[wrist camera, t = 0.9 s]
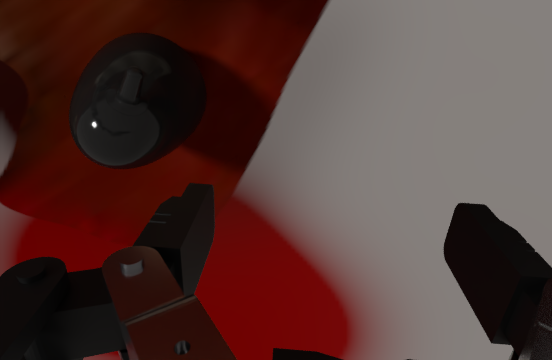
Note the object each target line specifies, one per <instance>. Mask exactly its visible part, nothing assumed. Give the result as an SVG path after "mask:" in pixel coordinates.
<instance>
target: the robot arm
mask: <svg viewBox="0 0 552 360" xmlns="http://www.w3.org/2000/svg"><path fill="white" fill-rule="evenodd" d="M214 228H215V219H214V189H213V185H209V184H195V183H190V184H189V185H188V186H187V188H186V190H185V191H184V193H183V195H182V196H181V197H174V196H173V197H171V198H169V199H168V200H166V201H165V202H163V203H162V204H161V205H160V206H159V208H158V209H157V211H156V212H155V215H153V216H152V218H151V219H150V223H148V224H147V225H146V227H145V228H144V230H143V231H142V233H141V234H140V236H139V237H138V239H137V240H136V242H135V243H134V245H133V246H132V247H127V248H124V249H121V250H118V251H116V252H115V253H113V254H111V255H110V256H109V257H108V258H107V259H106V260H105V261H104V263H103V265H102V267H101V268H96V269H90V270H83V271H76V272H69V273H67V269H66V265H65V263H64V262H63V261H62V260H60V259H58V258H54V257H39V258H34V259H30V260H26V261H24V262H21V263H19V264H17V265H15V266H13V267H11V268H10V269H8V270H7V271H6V272H4V273H3V274H2V275H1V276H0V360H83V358H84V357H89V356H94V355H99V354H104V353H109V352H114V351H118V352H119V355H120V358H121V360H237V359H236V357H235V356H234V354H233V353H232V351H231V350H230V348H229V346H228V345H227V343H226V342H225V340H224V339H223V337H222V335H221V334H220V332H219V331H218V329H217V328H216V326H215V324H214V323H213V321H212V320H211V318H210V317H209V315H208V314H207V312H206V310H205V309H204V307H203V306H202V304H201V303H200V301H199V300H198V298H197V297H196V296H195V295H194V292H195V290H196V287H197V284H198V282H199V279H200V276H201V273H202V270H203V268H204V264H205V262H206V259H207V256H208V254H209V251H210V248H211V245H212V242H213V237H214ZM526 242H527V241H526V240H525V239H524V238H523V237H522V236H521V234H520V233H518V231H517V230H515V229H514V228H512V227H511V226H509V225H507V224H506V223H504V222H503V221H500V220H499V219H498V218H497V217H496V216H495V215H494V213H493V212H491V210H490V209H489V208H488V207H487V206H486V205H482V204H469V203H459V204H458V205H457V206H456V208H455V210H454V213H453V216H452V220H451V223H450V226H449V229H448V233H447V236H446V239H445V243H444V257H445V260H446V263H447V264H448V266H449V268H450V269H451V271H452V273H453V275H454V277H455V278H456V280H457V282H458V284H459V286H460V288H461V289H462V291H463V293H464V295H465V297H466V298H467V300H468V302H469V304H470V306H471V307H472V309H473V311H474V313H475V315H476V316H477V318H478V320H479V322H480V324H481V325H482V327H483V329H484V331H485V332H486V334H487V336H488V338H489V340H490V342H491V343H494V344H508V345H512V347H513V351H512V353H511V356H510V358H509V360H552V268H551V266H550V265H549V264H548V263H547V262H546V261H545V260H544V259H543V258H542V257H541V256H540V255H539V254H538V253H537V252H535V249H534V248H533V247H532V246H531V245H530V244H529V243H526ZM273 360H342V359H339V358H336V357H333V356H329V355H326V354H323V353H320V352H315V351H303V350H291V349H279V348H273ZM407 360H411V359H407Z"/></svg>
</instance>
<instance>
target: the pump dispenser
mask: <svg viewBox="0 0 552 360" xmlns="http://www.w3.org/2000/svg"><path fill="white" fill-rule="evenodd" d="M206 101H207V93H206V86H205V82H204V79H203V76H202V73H201V71H200V69H199V67H198V66H197V64H196V63H195V61H194V60H193V59H192V58H191V56H190V55H189V54H188V53H187V52H186V51H185V50H184V49H182V48H181V47H180V46H178V45H177V44H176V43H174V42H172V41H170V40H168V39H166V38H164V37H161V36H158V35H155V34H150V33H131V34H126V35H123V36H120V37H118V38H115V39H114V40H112V41H110V42H109V43H107V44H106V45H104V46H103V47H102V48H101V49H100V50H99V51H98V52H97V53H96V54H95V55H94V56H93V58H92V59H91V60H90V61H89V63H88V64H87V66H86V67H85V69H84V70H83V72H82V74H81V76H80V78H79V80H78V82H77V85H76V87H75V90H74V92H73V95H72V99H71V103H70V110H69V124H70V130H71V134H72V137H73V139H74V141H75V143H76V145H77V147H78V148H79V150H80V151H81V152H82V153H83V154H84V155H85V156H86V157H87V158H88V159H90V160H91V161H93V162H94V163H96V164H98V165H101V166H104V167H107V168H112V169H132V168H137V167H141V166H145V165H148V164H150V163H153V162H155V161H157V160H159V159H161V158H162V157H164V156H166V155H168V154H169V153H171V152H172V151H174V150H175V149H176V148H178V147H179V146H180V145H181V144H182V143H183V142H184V141H185V140H186V139H187V138H188V137H189V136H190V135H191V134H192V133H193V132H194V131H195V129H196V128H197V126H198V125H199V123H200V121H201V119H202V117H203V114H204V111H205V108H206Z"/></svg>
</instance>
